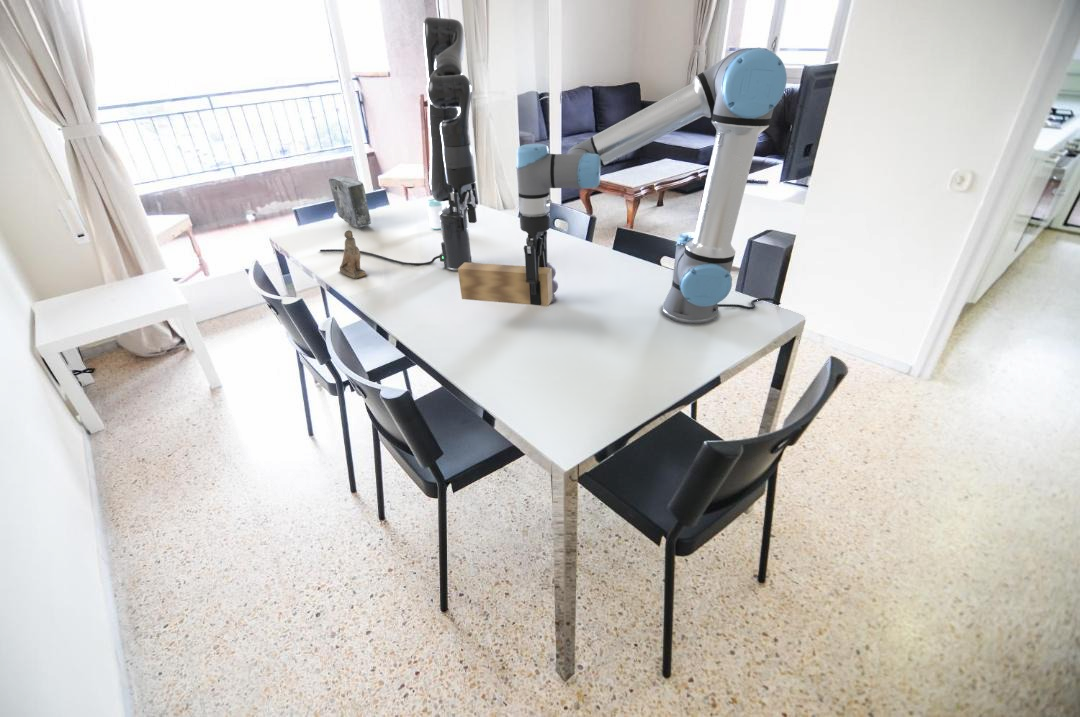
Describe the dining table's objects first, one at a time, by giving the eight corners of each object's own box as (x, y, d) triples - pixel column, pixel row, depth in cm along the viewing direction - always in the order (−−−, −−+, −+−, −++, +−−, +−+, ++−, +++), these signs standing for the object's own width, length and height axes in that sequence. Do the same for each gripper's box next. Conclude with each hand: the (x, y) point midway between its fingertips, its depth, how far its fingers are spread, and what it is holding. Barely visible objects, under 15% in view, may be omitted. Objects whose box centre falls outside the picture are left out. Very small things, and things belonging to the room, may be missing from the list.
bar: (461, 299, 137) (457, 268, 132) (468, 292, 141) (464, 262, 136) (548, 306, 131) (547, 274, 126) (552, 298, 135) (551, 267, 130)
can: (445, 229, 220) (441, 202, 214) (429, 230, 220) (425, 202, 214) (447, 224, 226) (444, 198, 220) (432, 225, 226) (428, 198, 220)
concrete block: (376, 229, 224) (366, 183, 213) (356, 233, 219) (346, 186, 209) (356, 217, 242) (347, 174, 232) (338, 220, 238) (327, 177, 228)
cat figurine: (563, 298, 154) (563, 262, 147) (546, 307, 149) (545, 269, 143) (543, 291, 159) (542, 255, 152) (526, 299, 154) (524, 263, 148)
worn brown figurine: (368, 281, 178) (362, 235, 166) (353, 285, 175) (347, 238, 163) (352, 266, 184) (346, 221, 172) (338, 270, 181) (331, 224, 169)
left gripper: (456, 160, 135) (464, 220, 143) (434, 169, 123) (444, 234, 131) (482, 159, 133) (488, 220, 141) (462, 168, 121) (470, 234, 129)
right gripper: (540, 224, 113) (543, 315, 125) (558, 204, 128) (559, 287, 140) (508, 222, 115) (515, 313, 127) (530, 203, 130) (533, 285, 142)
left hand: (467, 226), depth 136 cm, fingers open, 8 cm apart
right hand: (538, 299), depth 134 cm, fingers closed on bar, 5 cm apart
